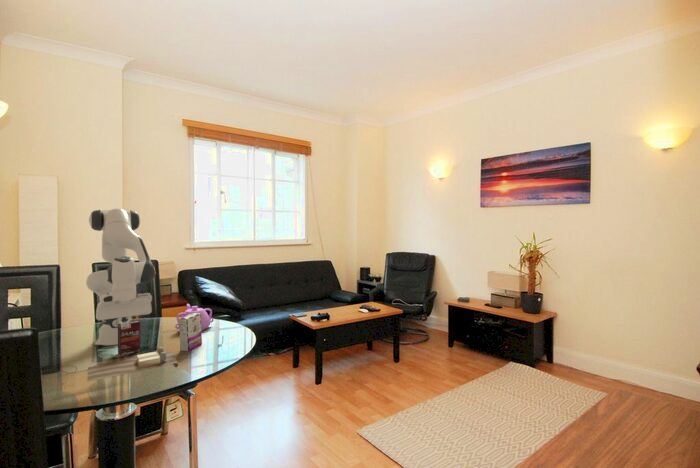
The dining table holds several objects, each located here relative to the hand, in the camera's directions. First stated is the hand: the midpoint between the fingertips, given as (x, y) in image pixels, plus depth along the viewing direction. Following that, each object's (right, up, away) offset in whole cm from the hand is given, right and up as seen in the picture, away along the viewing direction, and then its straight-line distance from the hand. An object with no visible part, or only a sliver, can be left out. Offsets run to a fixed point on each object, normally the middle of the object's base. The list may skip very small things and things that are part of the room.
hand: (124, 327), depth 155 cm
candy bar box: (+16, -18, +27) cm, 36 cm away
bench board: (+3, -18, +2) cm, 19 cm away
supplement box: (-9, -18, +18) cm, 27 cm away
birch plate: (+7, -17, +5) cm, 19 cm away
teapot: (+3, -17, +62) cm, 64 cm away
